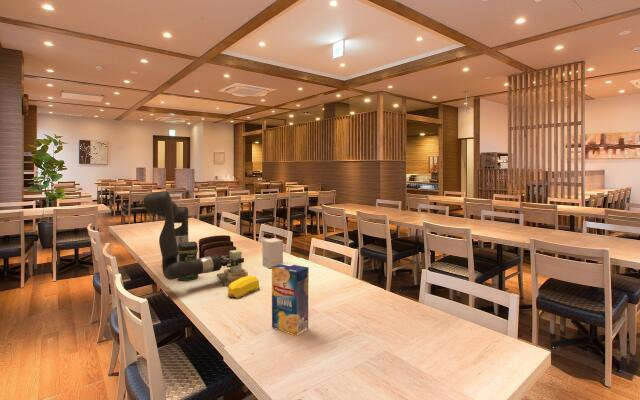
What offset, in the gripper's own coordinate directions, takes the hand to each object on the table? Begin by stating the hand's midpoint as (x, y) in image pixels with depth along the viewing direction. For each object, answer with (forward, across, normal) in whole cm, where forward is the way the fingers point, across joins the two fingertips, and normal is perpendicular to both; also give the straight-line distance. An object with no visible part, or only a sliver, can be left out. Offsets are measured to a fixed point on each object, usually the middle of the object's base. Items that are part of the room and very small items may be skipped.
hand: (239, 258), depth 179 cm
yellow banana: (-9, -19, +11) cm, 24 cm away
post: (-2, 0, +9) cm, 9 cm away
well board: (-3, 0, +10) cm, 11 cm away
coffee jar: (-19, +17, +10) cm, 27 cm away
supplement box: (+26, +7, +10) cm, 29 cm away
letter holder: (+9, +40, +11) cm, 42 cm away
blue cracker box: (-16, -60, +10) cm, 63 cm away
